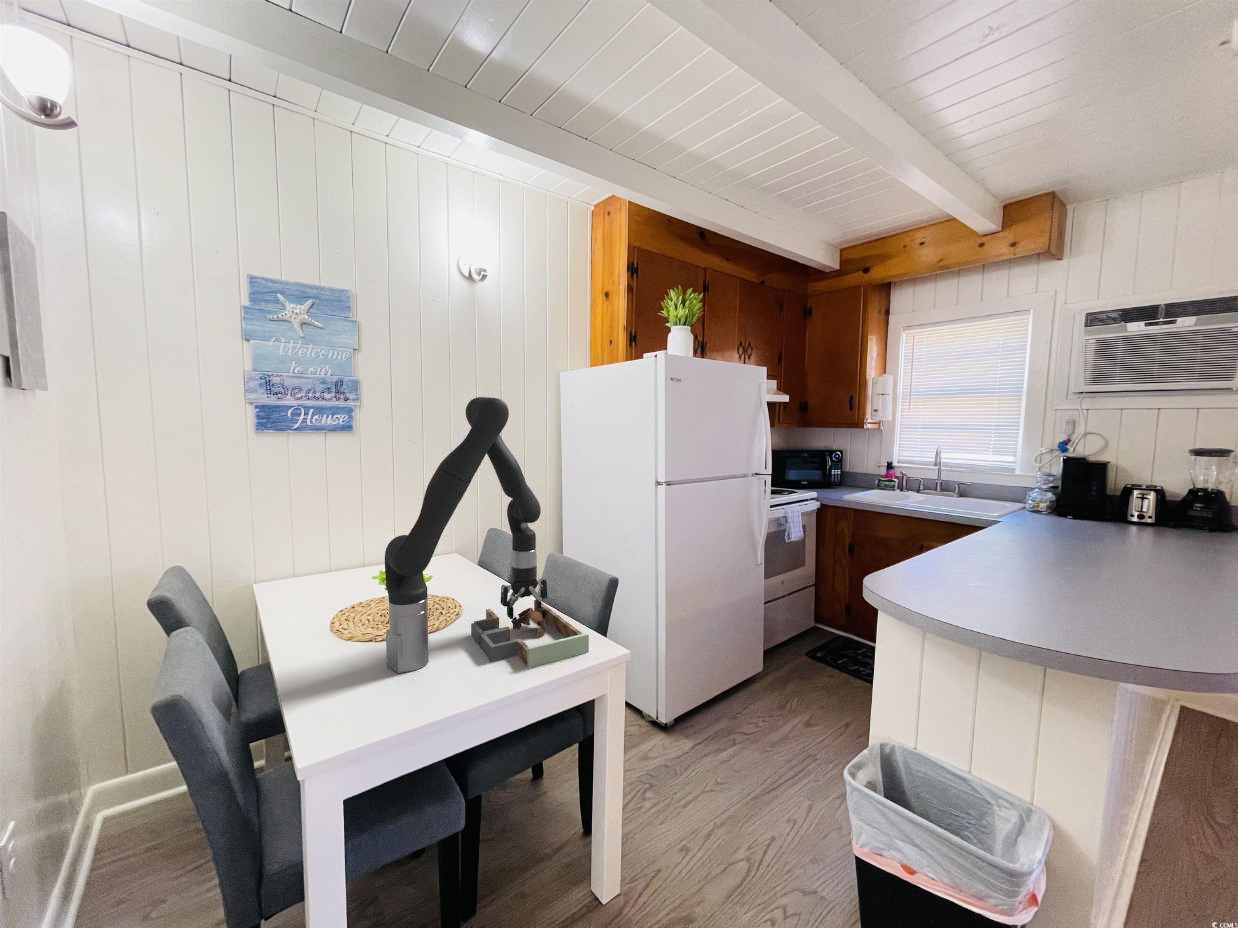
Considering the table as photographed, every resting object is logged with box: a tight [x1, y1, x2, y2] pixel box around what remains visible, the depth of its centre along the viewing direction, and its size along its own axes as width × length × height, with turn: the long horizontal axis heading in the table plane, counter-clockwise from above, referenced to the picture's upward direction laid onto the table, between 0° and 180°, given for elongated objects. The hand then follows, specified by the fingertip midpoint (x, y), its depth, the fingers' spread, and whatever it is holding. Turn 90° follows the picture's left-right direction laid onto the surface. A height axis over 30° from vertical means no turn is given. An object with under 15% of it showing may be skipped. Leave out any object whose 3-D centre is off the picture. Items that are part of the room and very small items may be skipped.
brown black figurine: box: [510, 607, 548, 639], centre depth 152 cm, size 12×10×8 cm
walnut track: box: [485, 599, 584, 666], centre depth 149 cm, size 34×17×4 cm, turn 32°
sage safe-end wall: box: [526, 632, 590, 669], centre depth 135 cm, size 1×17×5 cm, turn 123°
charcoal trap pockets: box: [470, 617, 518, 663], centre depth 143 cm, size 19×7×4 cm, turn 32°
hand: (524, 615), depth 155 cm, fingers open, 8 cm apart
